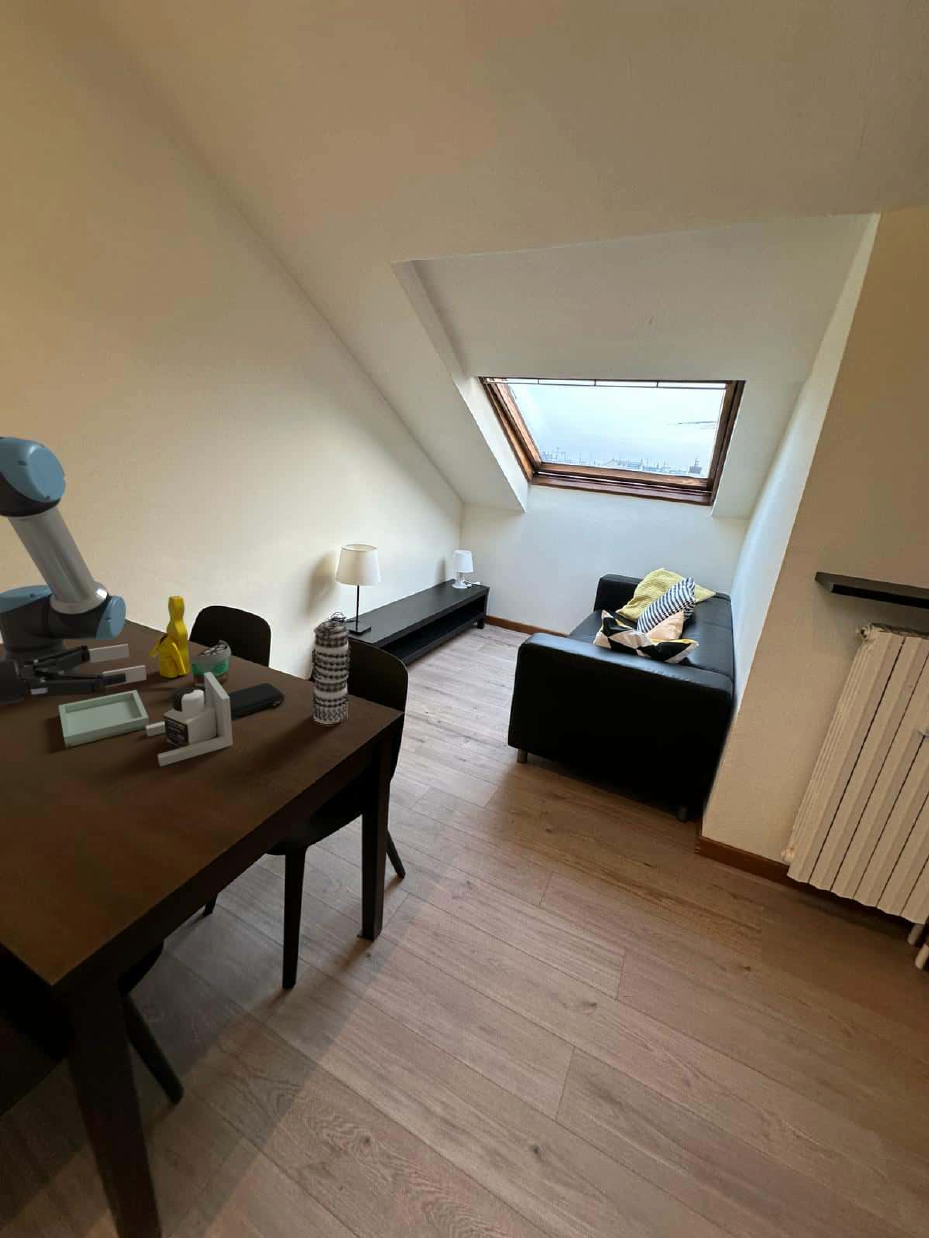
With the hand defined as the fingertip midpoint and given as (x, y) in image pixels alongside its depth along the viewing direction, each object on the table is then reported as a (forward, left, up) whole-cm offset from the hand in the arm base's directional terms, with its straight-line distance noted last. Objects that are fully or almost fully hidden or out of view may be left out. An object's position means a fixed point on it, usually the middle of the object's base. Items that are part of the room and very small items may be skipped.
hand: (136, 660), depth 97 cm
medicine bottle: (+1, +8, -21) cm, 22 cm away
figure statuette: (-34, +12, -21) cm, 42 cm away
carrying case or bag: (-7, +24, -21) cm, 33 cm away
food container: (-23, +20, -21) cm, 37 cm away
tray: (-16, -6, -21) cm, 27 cm away
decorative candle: (+8, +38, -21) cm, 44 cm away
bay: (+1, +8, -21) cm, 22 cm away
